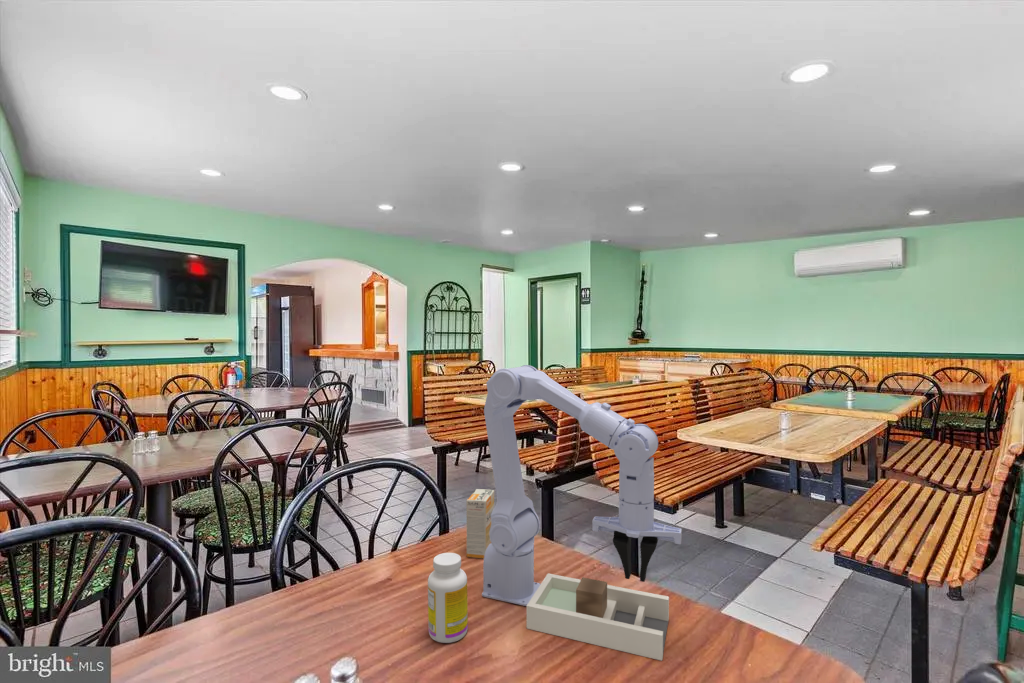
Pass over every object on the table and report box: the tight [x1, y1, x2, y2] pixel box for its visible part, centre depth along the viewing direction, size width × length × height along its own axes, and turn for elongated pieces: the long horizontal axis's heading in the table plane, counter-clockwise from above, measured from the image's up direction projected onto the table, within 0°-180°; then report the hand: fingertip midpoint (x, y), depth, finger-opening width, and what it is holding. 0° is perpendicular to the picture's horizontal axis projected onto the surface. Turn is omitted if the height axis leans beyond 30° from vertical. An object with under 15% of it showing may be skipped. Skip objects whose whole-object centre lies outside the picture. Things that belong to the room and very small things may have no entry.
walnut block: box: [576, 576, 608, 618], centre depth 89 cm, size 4×4×4 cm
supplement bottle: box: [427, 552, 469, 644], centre depth 86 cm, size 7×7×13 cm
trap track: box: [526, 573, 670, 661], centre depth 89 cm, size 22×12×4 cm, turn 68°
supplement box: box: [465, 488, 495, 560], centre depth 117 cm, size 8×5×13 cm, turn 168°
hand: (635, 577), depth 86 cm, fingers closed
